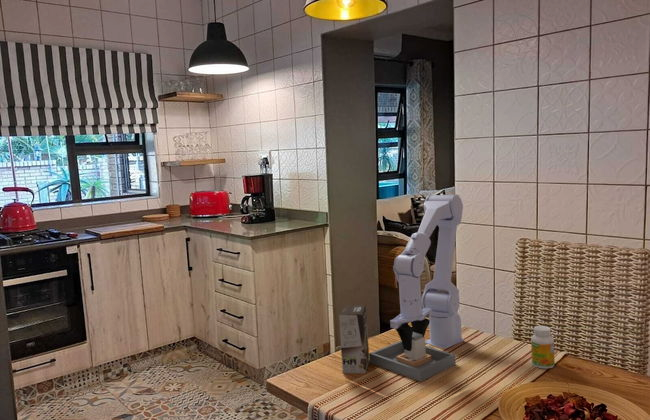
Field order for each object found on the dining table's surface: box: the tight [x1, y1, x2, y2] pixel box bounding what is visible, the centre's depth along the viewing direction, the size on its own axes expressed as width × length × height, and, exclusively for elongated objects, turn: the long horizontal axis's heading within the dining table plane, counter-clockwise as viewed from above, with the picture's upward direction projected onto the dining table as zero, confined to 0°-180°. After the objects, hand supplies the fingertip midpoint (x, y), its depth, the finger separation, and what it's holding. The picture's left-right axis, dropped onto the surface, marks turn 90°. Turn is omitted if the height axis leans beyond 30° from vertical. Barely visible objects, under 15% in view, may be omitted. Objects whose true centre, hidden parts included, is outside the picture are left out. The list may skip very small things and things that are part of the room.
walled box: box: [369, 340, 457, 382], centre depth 136 cm, size 14×18×3 cm
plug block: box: [404, 332, 426, 360], centre depth 138 cm, size 4×4×6 cm
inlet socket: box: [396, 353, 432, 367], centre depth 139 cm, size 7×7×1 cm
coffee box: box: [338, 304, 370, 374], centre depth 137 cm, size 9×6×16 cm
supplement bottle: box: [530, 325, 556, 369], centre depth 130 cm, size 5×5×10 cm
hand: (413, 347), depth 138 cm, fingers closed on plug block, 4 cm apart
